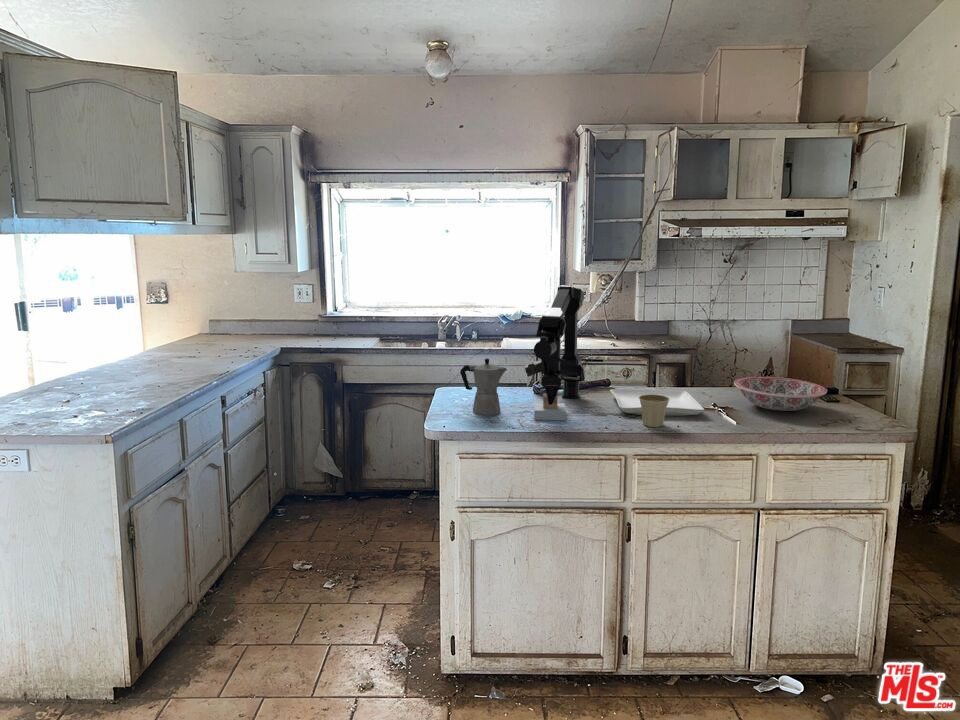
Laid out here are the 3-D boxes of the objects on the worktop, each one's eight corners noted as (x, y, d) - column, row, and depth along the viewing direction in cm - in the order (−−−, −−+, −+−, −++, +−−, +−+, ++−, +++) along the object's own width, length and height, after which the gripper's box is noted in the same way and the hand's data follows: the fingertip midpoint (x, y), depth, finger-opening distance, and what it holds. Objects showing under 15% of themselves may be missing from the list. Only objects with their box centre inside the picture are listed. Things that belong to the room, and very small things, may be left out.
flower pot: (646, 430, 209) (648, 402, 208) (631, 421, 218) (633, 395, 217) (674, 427, 212) (675, 400, 210) (658, 419, 221) (659, 393, 219)
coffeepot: (506, 408, 234) (507, 356, 230) (506, 415, 224) (507, 361, 221) (461, 407, 234) (461, 355, 231) (459, 414, 225) (459, 360, 221)
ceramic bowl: (741, 394, 255) (742, 373, 254) (828, 405, 241) (830, 382, 239) (724, 411, 231) (726, 388, 229) (820, 425, 216) (823, 400, 215)
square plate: (704, 420, 222) (705, 408, 221) (619, 418, 224) (620, 406, 223) (685, 399, 249) (686, 389, 248) (609, 397, 250) (609, 387, 250)
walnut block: (543, 404, 226) (543, 393, 226) (556, 405, 226) (557, 393, 225) (543, 408, 222) (543, 396, 221) (557, 408, 222) (557, 396, 221)
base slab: (534, 411, 230) (534, 402, 229) (564, 412, 229) (564, 403, 228) (534, 419, 220) (534, 410, 219) (565, 420, 219) (565, 411, 219)
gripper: (526, 348, 230) (525, 393, 233) (525, 358, 212) (524, 407, 215) (560, 348, 229) (558, 394, 232) (561, 359, 211) (560, 408, 214)
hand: (550, 400), depth 224 cm, fingers open, 9 cm apart
